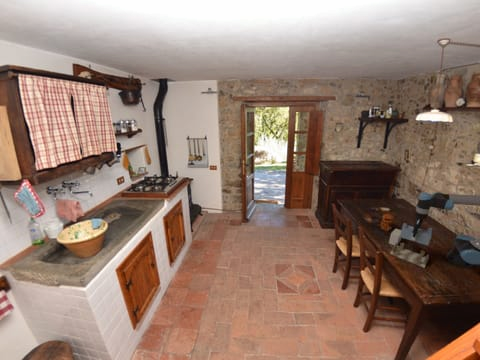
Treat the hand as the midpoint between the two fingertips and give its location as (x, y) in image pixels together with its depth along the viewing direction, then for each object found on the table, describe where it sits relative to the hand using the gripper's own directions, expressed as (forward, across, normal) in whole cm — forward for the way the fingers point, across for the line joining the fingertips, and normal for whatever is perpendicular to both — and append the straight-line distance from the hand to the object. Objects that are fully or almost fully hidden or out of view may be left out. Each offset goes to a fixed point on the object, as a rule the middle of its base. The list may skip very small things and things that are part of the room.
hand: (414, 238), depth 173 cm
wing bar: (+18, -16, -14) cm, 28 cm away
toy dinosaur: (+18, -34, -27) cm, 47 cm away
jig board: (+18, 0, 0) cm, 18 cm away
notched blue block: (+1, 0, 0) cm, 1 cm away
